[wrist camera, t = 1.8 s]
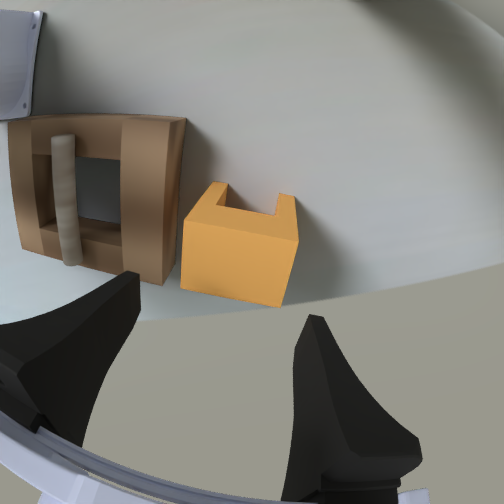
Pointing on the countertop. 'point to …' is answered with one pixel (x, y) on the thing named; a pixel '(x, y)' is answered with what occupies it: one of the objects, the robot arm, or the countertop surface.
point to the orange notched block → (238, 249)
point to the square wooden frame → (131, 189)
